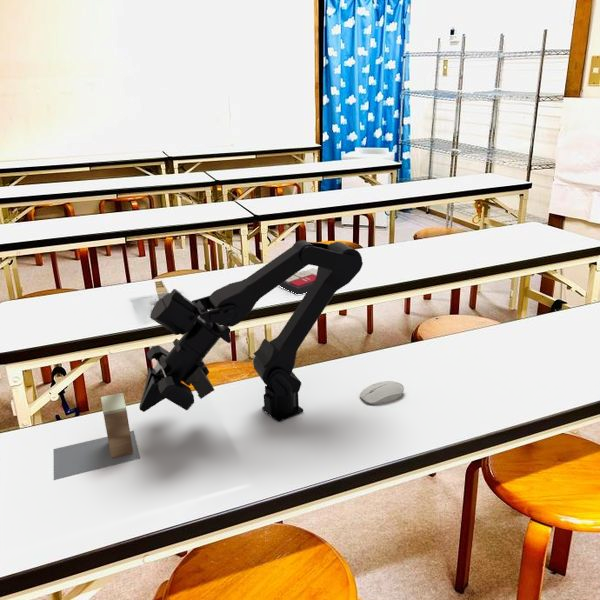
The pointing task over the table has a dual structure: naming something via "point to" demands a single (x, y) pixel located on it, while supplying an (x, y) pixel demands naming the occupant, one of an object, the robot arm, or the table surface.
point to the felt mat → (88, 457)
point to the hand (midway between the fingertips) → (141, 410)
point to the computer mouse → (382, 392)
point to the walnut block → (117, 425)
